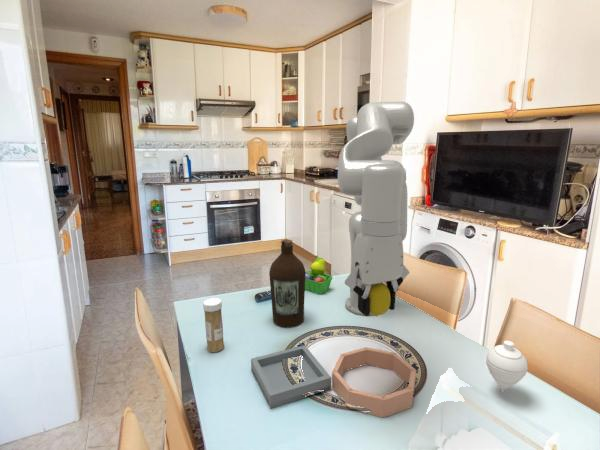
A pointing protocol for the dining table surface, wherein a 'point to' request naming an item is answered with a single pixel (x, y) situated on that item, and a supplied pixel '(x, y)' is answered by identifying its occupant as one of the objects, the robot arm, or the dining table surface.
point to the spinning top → (506, 365)
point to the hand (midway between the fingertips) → (376, 309)
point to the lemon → (379, 299)
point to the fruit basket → (317, 277)
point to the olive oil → (287, 287)
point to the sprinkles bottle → (213, 324)
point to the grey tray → (278, 384)
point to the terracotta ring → (374, 402)
